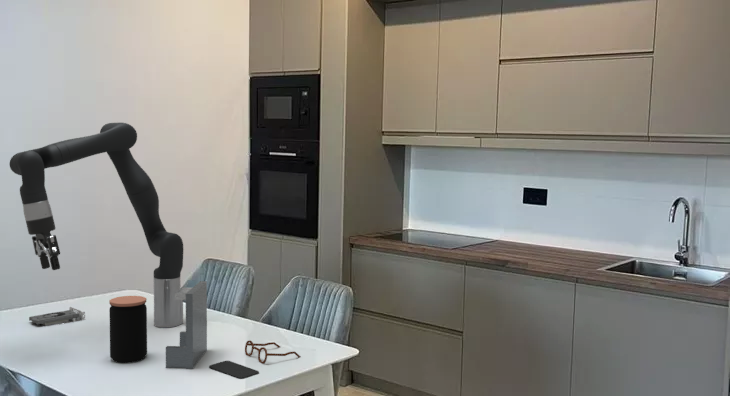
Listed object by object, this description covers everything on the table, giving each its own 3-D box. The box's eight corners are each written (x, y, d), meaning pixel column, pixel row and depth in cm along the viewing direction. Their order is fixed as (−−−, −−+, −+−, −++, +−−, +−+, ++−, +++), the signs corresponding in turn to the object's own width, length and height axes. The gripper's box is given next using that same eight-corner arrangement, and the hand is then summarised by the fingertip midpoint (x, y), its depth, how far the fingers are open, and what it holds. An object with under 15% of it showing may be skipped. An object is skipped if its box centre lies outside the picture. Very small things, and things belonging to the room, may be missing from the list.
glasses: (243, 355, 213) (243, 339, 213) (280, 348, 221) (280, 332, 221) (264, 366, 203) (264, 350, 202) (302, 358, 211) (302, 342, 210)
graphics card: (72, 305, 258) (85, 311, 250) (72, 315, 259) (85, 321, 250) (25, 313, 247) (37, 319, 238) (25, 324, 247) (37, 330, 238)
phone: (240, 378, 190) (207, 365, 200) (240, 381, 190) (207, 368, 200) (260, 371, 196) (227, 359, 205) (260, 374, 196) (227, 362, 205)
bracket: (165, 368, 198) (164, 293, 197) (181, 349, 216) (181, 280, 215) (192, 368, 198) (192, 293, 197) (206, 349, 216) (206, 281, 215)
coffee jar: (154, 355, 210) (154, 297, 208) (129, 365, 200) (128, 305, 199) (128, 350, 214) (127, 294, 213) (102, 360, 205) (101, 301, 203)
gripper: (60, 213, 204) (72, 266, 206) (43, 214, 214) (55, 264, 216) (34, 219, 199) (46, 273, 201) (18, 220, 209) (30, 271, 211)
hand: (51, 268), depth 208 cm, fingers open, 8 cm apart
